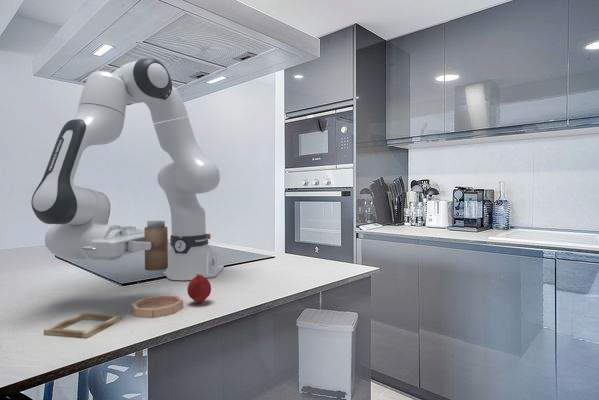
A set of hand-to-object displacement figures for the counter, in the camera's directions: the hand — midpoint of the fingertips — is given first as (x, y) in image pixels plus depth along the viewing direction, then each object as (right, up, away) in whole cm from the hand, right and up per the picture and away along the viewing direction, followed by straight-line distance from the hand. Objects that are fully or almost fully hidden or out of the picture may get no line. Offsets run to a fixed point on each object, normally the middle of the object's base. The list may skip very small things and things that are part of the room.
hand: (159, 243), depth 87 cm
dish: (-1, -16, +1) cm, 16 cm away
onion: (+8, -16, +5) cm, 19 cm away
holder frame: (-12, -16, -10) cm, 23 cm away
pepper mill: (-1, -6, 0) cm, 6 cm away
